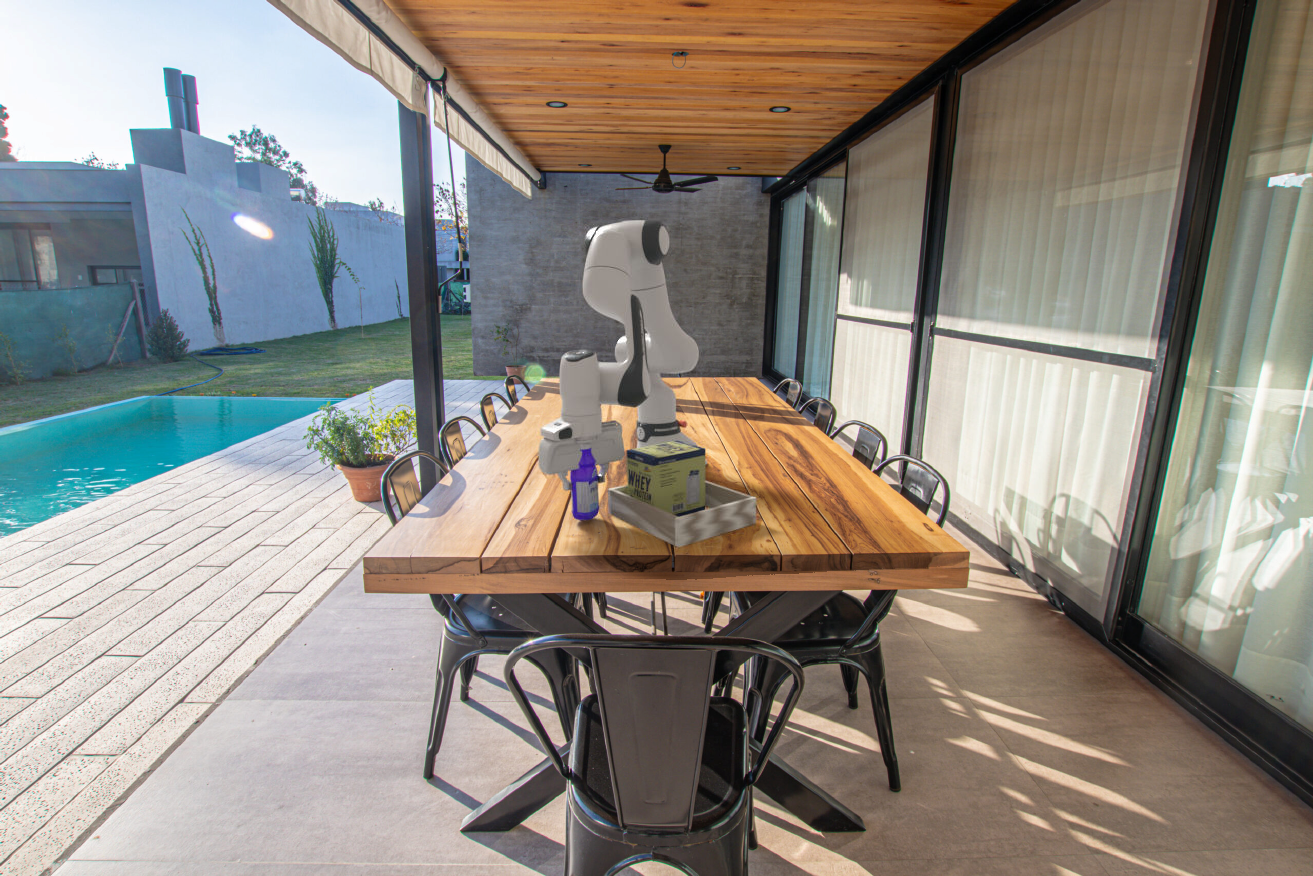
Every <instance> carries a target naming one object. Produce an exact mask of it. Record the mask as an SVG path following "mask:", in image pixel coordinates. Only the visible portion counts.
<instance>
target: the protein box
mask: <svg viewBox="0 0 1313 876" xmlns="http://www.w3.org/2000/svg"><path fill="white" fill-rule="evenodd" d="M705 460H706V448H705V447H701V446H698V445H697V446H695V445H691V444H688V443H684V442H681V441H672V442H667V443H662V444H657V445H652V446H647V447H641V448H637V447H636V448H631V449H626V476H627V478H626V479H627V480H626V482H627V485H628V495H629V496H631V497H633V498H636V499H638V500H641V501H643V502H645V503H648V504H650V505H652V506H655V507H657V508H659V509H662V510H664V511H666V512H669V513H671V514H673V515H676V516H678V517H680V516H684V515H688V514H691V513H695V512H699V511H702V510H706V506H705V481H706V465H705Z"/></svg>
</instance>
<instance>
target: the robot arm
mask: <svg viewBox="0 0 1313 876" xmlns="http://www.w3.org/2000/svg"><path fill="white" fill-rule="evenodd" d="M583 250H584V256H585V258H586V259H585V264H584V270H583V276H582V296H583V298H584V299H585V301H586V303H587V304H588V306H589V307H590V308H592V309H593V310H594V311H596V312H597V313H599V314H601V315H603V316H605V317H607V318H611V319H612V320H615V321H618V322H619V323H620V324H622V325H623V326H624V334H625V335H623V336H621V337H620V338H619V339H618V341H617V343H616V345H615V347H614V349H615V350H614V357H615V361H616V362H612V361H611V362H608V361H607V362H604V361H603V362H602V361H598V357H597V353H596V352H595V351H593V350H591V349H586V348H585V349H584V348H582V349H575V350H570V351H569V350H568V351H566V352H565V353H564V354H563V355H562V356H561V359H560V365H559V375H558V376H559V378H558V379H559V380H558V381H559V384H558V385H559V395H560V398H561V409H560V417H558V418H556V419H555V420H553V421H551V422H549V423H547V424H545V425H543V426H542V427H540V430H539V431H540V436H542V437H543V438H542V439H541V440H540V442H539V447H538V468H539V469H540V471H541V472H542V473H544V474H545V475H548V476H551V475H555V474H557V476H558V478H559V480H560V481H561V482H562V489H563V490H564V491H566V492H567V491H571V490H572V489H573V487H572V485H573V484H572V482H571V480H570V479H569V480H568V478H567V476H568V475H569V474H568V473H569V472H571V470H576V469H579V465H578V463H579V462H580V460H581V457H582V451H580V444H585V443H591V447H592V449H591V453H592V455H593V457H594V458H595V460H596V463H595V466H599V467H600V468H599V471H598V474H597V476H598V484H602V483H603V484H604V483H606V475H607V473H608V471H609V469H610V463H615V462H619V461H622V460H624V457H625V446H624V439H623V425H622V424H621V423H620V422H619V421H617V420H610V421H603V420H602V419H603V418H602V407H601V405H604V406H607V405H608V406H609V405H610V406H611V405H612V406H621V407H628V408H629V407H630V408H636V409H637V420H636V424H635V425H636V438H637V440H636V441H637V442H636V444H637V445H636V448H641V447H647V446H652V445H657V444H662V443H667V442H672V441H681V442H684V443H688V444H691V445H695V446H698V444H697V443H696V442H695V440H693V439H691V438H690V437H689V436H688V435H686V434H685V433H683V432H682V428H684V429H686V428H687V427H688V422H687V421H686V420H680V421H679V420H678V419H677V412H676V411H677V407H676V406H677V401H676V400H677V398H676V393H675V391H674V390H673V389H672V388H671V387H670V386H668V385H667V384H666V383H664V381H663V379H662V377H661V374H670V375H673V374H674V375H675V374H676V375H677V374H682V373H683V374H684V373H688V372H691V371H693V370H694V369H695V367H696V365H697V363H698V362H699V361H698V360H699V357H700V351H699V346H698V344H697V342H696V340H695V339H694V338H692V337H691V336H689V335H688V334H687V333H686V332H685V331H684V329H682V327H681V326H680V325H679V323H678V322H677V320H676V319H675V316H674V314H673V311H672V308H671V305H670V300H669V296H668V295H669V294H668V288H667V281H666V277H665V270H664V266H663V261H664V260H665V259H666V257H667V256H668V253H669V251H670V236H669V232H668V229H667V227H666V225H665V224H664V223H663V222H662V221H661V220H657V219H653V218H652V219H651V218H647V219H646V220H643V219H642V220H641V219H640V220H639V219H638V220H636V219H635V220H634V219H633V220H632V219H631V220H622V221H620V222H613V223H610V224H606V225H601V224H599V225H597V226H595V227H592V228H590V229H589V230H588V232H586V234H585V236H584V239H583ZM706 465H708V461H707V459H705V466H706Z"/></svg>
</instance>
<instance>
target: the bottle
mask: <svg viewBox="0 0 1313 876" xmlns="http://www.w3.org/2000/svg"><path fill="white" fill-rule="evenodd" d="M591 449H592V447H591V443H585V444H580V451H582V457H581V460H580V462H579V463H578V465H579V469H576V470H571V471H570V474H569V475H570V477H569V481H570V482H572V484H573V485H572V487H573V489H572V490H570V494H571V513H572V517H573V519H575V520H578V521H589V520H592V519H594V518H595V517H597V516H598V514H599V511H600V500H599V483H598V476H597V474H599V471H598V469H597V465H595V463H596V460H595V458H594V457H593V455H592V453H591Z"/></svg>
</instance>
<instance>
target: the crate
mask: <svg viewBox="0 0 1313 876" xmlns="http://www.w3.org/2000/svg"><path fill="white" fill-rule="evenodd" d="M607 501H608V502H607V504H608V514H609V515H611V516H613V517H615V518H617V519H619V520H621V521H623V522H625V523H627V524H629V525H631V526H633V527H636V528H637V529H640V530H642V531H643V532H646V533H648V534H649V535H652V536H654V537H655V538H658V539H660V540H662V541H665V542H666V543H669V545H672V546H675V547H676V548H681V547H684V546H688V545H691V544H695V543H696V542H701V541H704V540H707V539H709V538H714V537H717V536H719V535H722V534H723V535H724V534H726V533H730V532H733V531H736V530H739V529H742V528H746V527H748V526H749V527H750V526H753V525H755V524H757V523H756V522H757V497H755V496H752V495H749V494H747V493H743V492H740V491H739V490H736V489H735V490H734V489H732V488H729V487H725V486H723V485H720V484H717V483H714V482H710V481H708V480H705V510H702V511H699V512H695V513H691V514H688V515H684V516H680V517H678V516H676V515H673V514H671V513H669V512H666V511H664V510H662V509H659V508H657V507H655V506H652V505H650V504H648V503H645V502H643V501H641V500H638V499H636V498H633V497H631V496H629V495H628V484H624V485H619V486H615V487H610V488H607ZM706 507H707V509H706Z"/></svg>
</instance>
